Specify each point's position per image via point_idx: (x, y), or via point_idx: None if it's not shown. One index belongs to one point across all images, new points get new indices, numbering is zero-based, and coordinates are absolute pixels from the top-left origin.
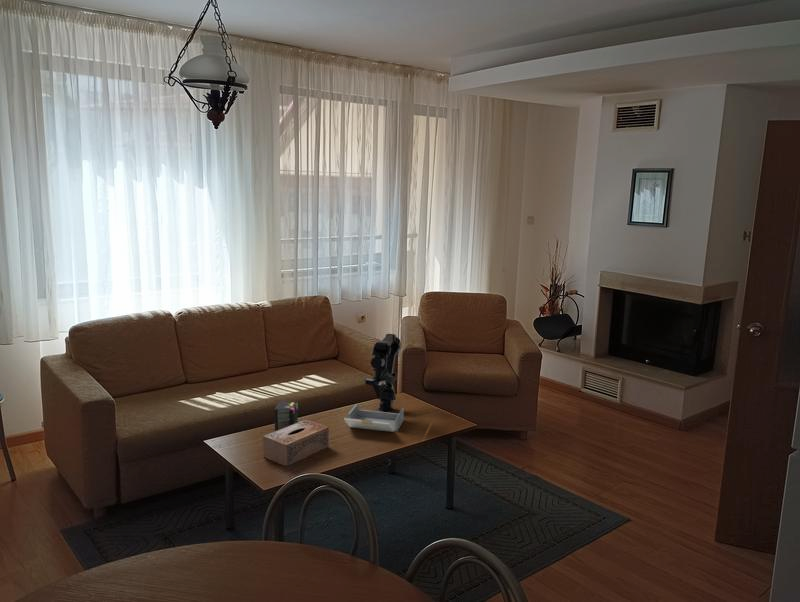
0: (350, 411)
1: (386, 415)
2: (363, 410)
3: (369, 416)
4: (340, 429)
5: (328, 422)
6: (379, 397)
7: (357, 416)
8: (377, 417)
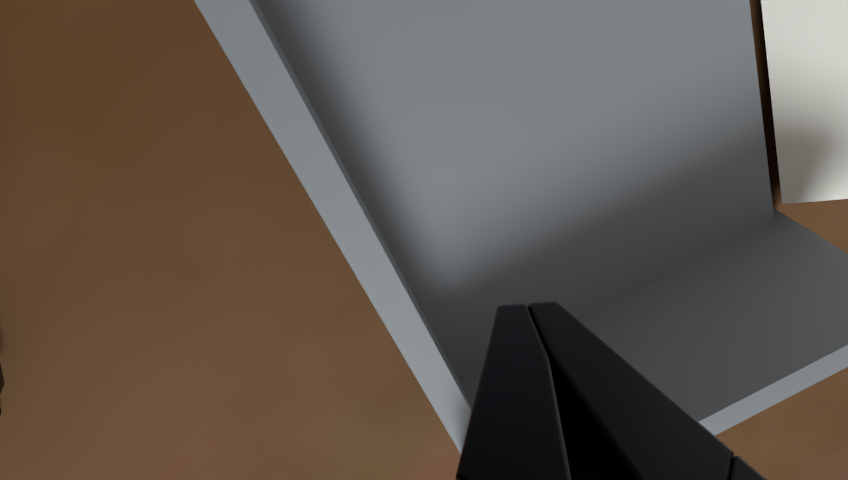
0: (829, 368)
1: (257, 12)
2: (447, 388)
3: (396, 262)
4: (845, 234)
5: (724, 430)
6: (560, 310)
7: (471, 370)
8: (339, 153)
